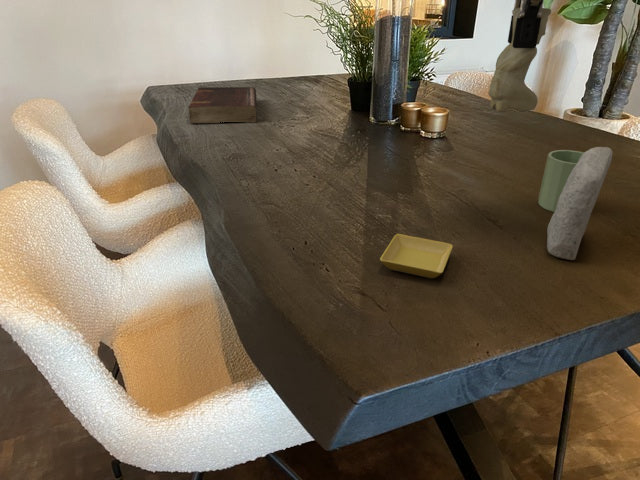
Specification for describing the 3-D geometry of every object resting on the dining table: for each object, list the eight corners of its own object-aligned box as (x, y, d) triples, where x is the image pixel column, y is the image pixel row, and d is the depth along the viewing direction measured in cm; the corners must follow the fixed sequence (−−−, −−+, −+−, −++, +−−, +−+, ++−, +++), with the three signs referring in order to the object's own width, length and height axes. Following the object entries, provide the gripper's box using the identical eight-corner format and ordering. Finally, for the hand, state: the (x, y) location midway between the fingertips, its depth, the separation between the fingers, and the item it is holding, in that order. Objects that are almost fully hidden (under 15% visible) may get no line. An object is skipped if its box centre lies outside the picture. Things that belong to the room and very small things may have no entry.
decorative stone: (583, 266, 69) (612, 164, 62) (537, 255, 71) (561, 157, 64) (589, 235, 77) (615, 143, 70) (548, 227, 80) (570, 137, 73)
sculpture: (541, 114, 76) (562, 7, 68) (496, 116, 75) (513, 8, 68) (522, 105, 81) (540, 5, 74) (481, 107, 80) (494, 6, 73)
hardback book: (257, 122, 141) (256, 104, 138) (190, 124, 139) (188, 106, 137) (256, 101, 166) (255, 85, 164) (200, 102, 164) (198, 87, 162)
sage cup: (578, 198, 90) (591, 151, 86) (590, 215, 84) (604, 165, 79) (534, 195, 92) (544, 148, 88) (542, 212, 85) (553, 162, 81)
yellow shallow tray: (452, 256, 72) (454, 243, 71) (440, 286, 64) (442, 272, 64) (395, 245, 75) (396, 233, 74) (378, 272, 68) (378, 259, 67)
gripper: (593, -113, 57) (559, 53, 65) (562, -94, 71) (537, 40, 80) (525, -110, 58) (500, 52, 67) (508, -92, 73) (490, 39, 81)
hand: (521, 44), depth 73 cm, fingers closed on sculpture, 5 cm apart
